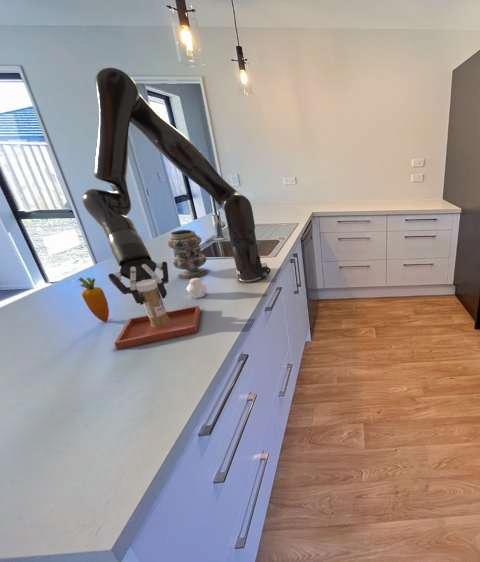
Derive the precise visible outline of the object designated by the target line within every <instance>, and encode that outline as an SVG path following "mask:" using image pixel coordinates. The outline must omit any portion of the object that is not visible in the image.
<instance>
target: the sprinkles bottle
mask: <svg viewBox="0 0 480 562" xmlns="http://www.w3.org/2000/svg"><path fill="white" fill-rule="evenodd" d="M136 287H137V290H138V291H139V294H140V296H141V298H142V300H143V303H144V304H143V308H144V310H145V312H146V314H147V315H148V317H149V319H150V321H151V326H152V327H156V328H157V327H162V326H164V325H166V324H168V323H169V321H170V320H169V319H168V316H167V313H166V312H167V309H166V307H165V303H164V301H163V298H162V296H161V294H160V292H159V290H158V285H157V282H156V280H153V279H148V280H142V281H140V282H137V284H136Z"/></svg>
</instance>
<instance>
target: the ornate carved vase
mask: <svg viewBox="0 0 480 562" xmlns="http://www.w3.org/2000/svg"><path fill="white" fill-rule="evenodd" d="M166 243H167V246H168V247H169V248H171V249H172V251H173V256H174V258H173V261H172V265H173V267H175V268H176V269H179V270H184V271H183V272H181V273H180V275H179V277H180V278H183V279H193V278H198V277H200V276H203V275H205V274H207V272H208V270H207V269H205V268H201V267H202V266H204V265H205V264H206V262H207V256H206V255H205V254H203V253H202V249H201V246H200V244H201V243H202V237H201V236H200V235H198V234H197V233H196V231H195V230H193V229H179V230H174V231H171V232H170V233H169V239H168V240H167V242H166Z"/></svg>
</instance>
